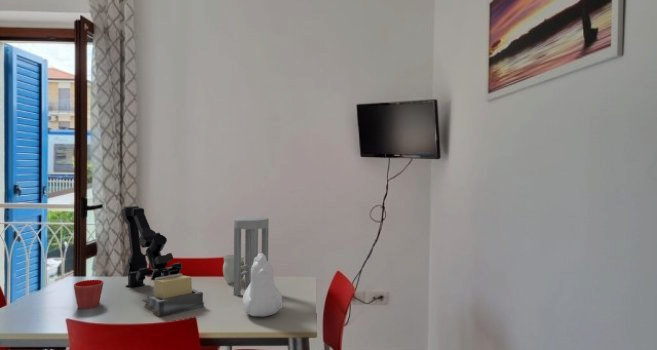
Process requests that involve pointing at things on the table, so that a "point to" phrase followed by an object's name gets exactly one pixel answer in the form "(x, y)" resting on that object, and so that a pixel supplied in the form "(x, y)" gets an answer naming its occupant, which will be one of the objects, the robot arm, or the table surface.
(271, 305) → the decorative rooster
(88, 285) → the flower pot
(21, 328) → the table surface
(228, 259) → the pitcher
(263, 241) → the stool
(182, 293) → the yellow box
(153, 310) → the dock
